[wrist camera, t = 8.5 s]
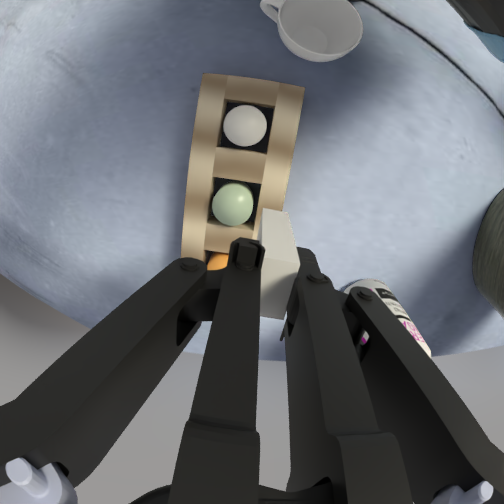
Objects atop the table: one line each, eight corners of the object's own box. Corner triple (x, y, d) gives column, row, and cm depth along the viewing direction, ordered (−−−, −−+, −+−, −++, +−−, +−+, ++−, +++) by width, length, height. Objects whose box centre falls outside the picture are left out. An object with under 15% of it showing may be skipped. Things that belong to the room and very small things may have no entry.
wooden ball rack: (208, 78, 26) (202, 73, 23) (300, 91, 26) (305, 87, 23) (184, 289, 36) (178, 302, 33) (260, 301, 36) (259, 315, 34)
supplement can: (333, 329, 38) (358, 413, 24) (335, 279, 35) (371, 362, 21) (384, 321, 38) (423, 396, 24) (392, 272, 34) (446, 344, 21)
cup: (323, 83, 26) (340, 71, 19) (243, 40, 24) (238, 17, 18) (355, 37, 23) (376, 17, 17) (278, -6, 21) (282, -34, 15)
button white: (230, 106, 27) (227, 102, 23) (268, 111, 27) (269, 108, 24) (225, 142, 28) (220, 143, 25) (262, 147, 28) (262, 149, 25)
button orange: (211, 245, 33) (206, 258, 30) (245, 251, 33) (243, 264, 30) (208, 275, 35) (203, 290, 31) (240, 280, 35) (238, 295, 31)
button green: (219, 178, 30) (214, 183, 27) (256, 183, 30) (255, 189, 27) (215, 213, 31) (209, 222, 28) (250, 218, 32) (249, 228, 28)
